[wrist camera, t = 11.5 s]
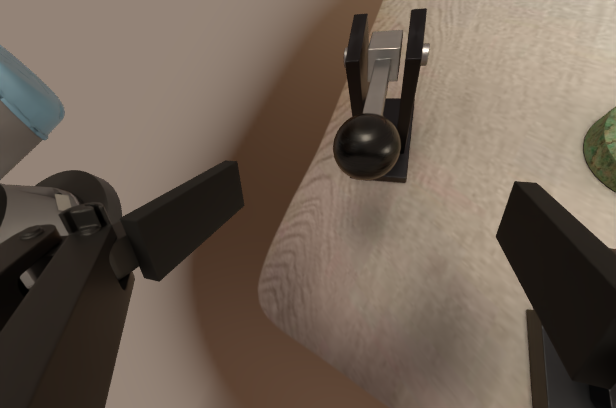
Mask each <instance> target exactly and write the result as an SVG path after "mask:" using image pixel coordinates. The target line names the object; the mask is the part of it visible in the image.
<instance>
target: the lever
mask: <svg viewBox="0 0 616 408" xmlns="http://www.w3.org/2000/svg"><path fill="white" fill-rule="evenodd" d="M402 38H403V30H392V31H378V32H373V33H372V37H371V40H370V44H369V47H368V78H367V81H368V82H370V84H369V89H368V93H367V97H366V101H365V105H364V109H363V113H362V114H358V115H356V116H353V117H351V118H350V119H348V120H347V121H346V122H345V123H344V124H343V125H342V126H341V127H340V128H339V130H338V132H337V134H336V136H335V139H334V144H333V152H334V157H335V160H336V162H337V164H338V166H339V167H340V169H341V170H342V171H343V172H344V173H345V174H347V175H348V176H350V177H352V178H354V179H358V180H373V179H377V178H379V177H381V176H383V175H385V174H386V173H387V172H389V171H390V170H391V169H392V168H393V166H394V165H395V163H396V162H397V160H398V157H399V154H400V149H401V142H400V136H399V133H398V131H397V129H396V127H395V126H394V125H393V124H392V123H391V121H389V120H388V119H387V118H385V117H383V111H384V106H385V100H386V94H387V88H388V82H389V81H397V79H398V72H399V65H400V57H401V47H402Z"/></svg>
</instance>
